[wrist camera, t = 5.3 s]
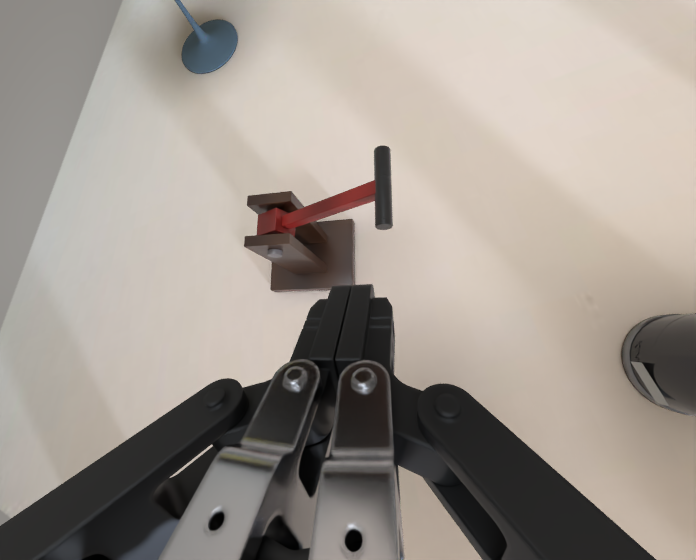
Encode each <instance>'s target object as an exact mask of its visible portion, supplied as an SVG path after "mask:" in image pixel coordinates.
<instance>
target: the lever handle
mask: <svg viewBox="0 0 696 560" xmlns="http://www.w3.org/2000/svg"><path fill="white" fill-rule="evenodd" d="M374 177H375V180H374V181H371V182H369V183H366V184H363V185H361V186H358V187H356V188H353V189H350V190H348V191H345V192H343V193H340V194H337V195H335V196H332V197H330V198H327V199H324V200H322V201H319V202H317V203H314V204H312V205H309V206H306V207H304V208H301V209H299V210H296V211H293V212H291V213H288V212H286V211H283V210H281V209H279V208H274V209H272V210H269V211H267V212H264V213H262V214H260V215H258V225H257V235H270V234H283V233H290V234H291V235H293V236H294V237H295V227H298V226H301V225H304V224H307V223H310V222H313V221H316V220H319V219H322V218H325V217H328V216H331V215H334V214H337V213H340V212H343V211H346V210H349V209H352V208H355V207H358V206H361V205H364V204H367V203H370V202H373V201H375V227H376V228H377V229H380V230H387V229H390V228H392V226H393V220H392V188H391V155H390V148H389V147H387V146H378V147H377V148H375V150H374Z"/></svg>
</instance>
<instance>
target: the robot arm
mask: <svg viewBox="0 0 696 560" xmlns="http://www.w3.org/2000/svg"><path fill="white" fill-rule="evenodd" d="M394 349H395V333H394V322H393V310H392V305H391V304H390V302H389V301H388V299H387V297H386V298H375V296H374V288H373V285H372V284H367V285H353V286H352V285H340V286H332V287H331V290H330V293H329V296H328V299H319V300H318V301H317V302H316V303H315V304H314V305H313V306H312V307H311V308H310V311H309V313H308V316H307V321H305V324H304V326H303V329H302V331H301V334H300V336H299V339H298V342H297V344H296V347H295V349H294V352H293V354H292V357H291V359H290V362H288V363H287V364H285V365H283V366H282V367H281V368H280V369H279V370H278V371H277V372H276V373H275V375H274V376H273V378H272V379H271V380H268V381H266V382H263V383H259V384H255V385H251V386H247V387H244V388H242V386H241V385H240V383H239V382H238V381H236V380H234V379H229V378H227V379H221V380H218V381H215V382H213V383H211V384H209V385H208V386H206V387H205V388H203V389H202V390H200V391H199V392H197V393H196V394H194V395H193V396H191V397H190V398H188V399H187V400H186V401H184V402H183V403H181V404H180V405H178V406H177V407H175V408H174V409H172V410H171V411H169V412H168V413H166V414H165V415H163V416H162V417H160V418H159V419H157V420H156V421H155V422H153V423H152V424H150V425H149V426H147V427H146V428H144V429H143V430H141V431H140V432H138V433H137V434H135V435H134V436H132V437H131V438H129V439H128V440H126V441H125V442H124V443H122V444H121V445H119V446H118V447H116V448H115V449H113V450H112V451H110V452H109V453H107V454H106V455H104V456H103V457H101V458H100V459H98V460H97V461H95V462H94V463H92V464H91V465H90V466H88V467H87V468H85V469H84V470H82V471H81V472H79V473H78V474H76V475H75V476H73V477H72V478H70V479H69V480H67V481H66V482H64V483H63V484H61V485H60V486H59V487H57V488H56V489H54V490H53V491H51V492H50V493H48V494H47V495H45V496H44V497H42V498H41V499H39V500H38V501H36V502H35V503H33V504H32V505H30V506H29V507H28V508H26V509H25V510H23V511H22V512H20V513H19V514H17V515H16V516H14V517H13V518H11V519H10V520H8V521H7V522H5V523H4V524H2V525H1V526H0V560H405V554H404V540H403V526H402V515H401V501H400V486H399V470H398V465H399V466H401V467H403V468H405V469H407V470H409V471H411V472H414V473H416V474H418V475H420V476H422V477H423V478H424V480H425V481H426V483H427V484H428V486H429V487H430V488H431V490H432V491H433V492H434V494H435V495H436V496H437V498H438V499H439V501H440V502H441V503H442V505H443V506H444V507H445V509H446V510H447V511H448V513H449V514H450V516H451V517H452V518H453V520H454V521H455V522H456V524H457V525H458V526H459V528H460V529H461V531H462V532H463V533H464V535H465V536H466V537H467V539H468V540H469V542H470V543H471V544H472V546H473V547H474V548H475V550H476V551H477V552H478V554H479V555H480V557H481V558H482V559H483V560H656V559H655V558H654V557H653V556H651V555H650V554H649V553H648V552H647V551H646V550H645V549H644V548H642V547H641V546H640V545H639V544H638V543H637V542H636V541H635V540H633V539H632V538H631V537H630V536H629V535H628V534H627V533H625V532H624V531H623V530H622V529H621V528H620V527H619V526H618V525H616V524H615V523H614V522H613V521H612V520H611V519H610V518H609V517H607V516H606V515H605V514H604V513H603V512H602V511H601V510H600V509H598V508H597V507H596V506H595V505H594V504H593V503H592V502H590V501H589V500H588V499H587V498H586V497H585V496H584V495H583V494H581V493H580V492H579V491H578V490H577V489H576V488H575V487H574V486H572V485H571V484H570V483H569V482H568V481H567V480H566V479H565V478H563V477H562V476H561V475H560V474H559V473H558V472H557V471H555V470H554V469H553V468H552V467H551V466H550V465H549V464H548V463H546V462H545V461H544V460H543V459H542V458H541V457H540V456H539V455H537V454H536V453H535V452H534V451H533V450H532V449H531V448H530V447H528V446H527V445H526V444H525V443H524V442H523V441H522V440H521V439H519V438H518V437H517V436H516V435H515V434H514V433H513V432H511V431H510V430H509V429H508V428H507V427H506V426H505V425H504V424H502V423H501V422H500V421H499V420H498V419H497V418H496V417H495V416H493V415H492V414H491V413H490V412H489V411H488V410H487V409H486V408H484V407H483V406H482V405H481V404H480V403H479V402H478V401H476V400H475V399H474V398H473V397H472V396H471V395H470V394H469V393H467V392H466V391H465V390H463V389H461V388H459V387H457V386H454V385H451V384H435V385H432V386H430V387H428V388H426V389H425V390H424V391H421V390H418V389H415V388H412V387H410V386H407V385H405V384H403V383H402V382H401V381H399V380H398V379H397V378H396V377H395V375H394V353H395V350H394ZM622 359H623V365H624V368H625V371H626V373H627V376H628V377H629V379H630V381H631V382H632V384H633V385H634V386H635V388H636V389H637V390H638V391H639V392H640V393H641V394H642V395H644V396H645V397H646V398H647V399H649V400H650V401H652V402H653V403H655V404H657V405H659V406H661V407H663V408H665V409H668V410H671V411H674V412H678V413H682V414H686V415H692V416H696V313H693V314H670V315H660V316H655V317H652V318H649V319H646V320H644V321H642V322H640V323H639V324H638V325H636V326H635V327H634V328H633V329H632V330H631V331H630V332H629V334H628V335H627V337H626V339H625V342H624V345H623V350H622ZM211 444H212V445H213V447H211V448H210V449H209V450H208V451H206V452H205V453H204V454H203V455H201V456H200V457H199V458H198V459H196V460H195V461H194V462H193V463H191V464H190V465H189V466H188V467H186V468H185V469H184V470H182V471H181V472H180V473H179V474H177V475H176V476H174V477H171V478H169V477H170V476H172V475H173V474H174V473H176V472H177V471H178V470H179V469H181V468H182V467H183V466H184V465H186V464H187V463H188V462H189V461H191V460H192V459H193V458H195V457H196V456H197V455H198V454H200V453H201V452H202V451H203V450H205V449H206V448H207V447H208V446H210V445H211Z"/></svg>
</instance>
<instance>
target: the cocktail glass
mask: <svg viewBox="0 0 696 560" xmlns="http://www.w3.org/2000/svg"><path fill="white" fill-rule="evenodd" d="M175 2H176V3H177V5H178V6H179V8H180V9H181V10H182V12H183V13H184V15H185V16H186V18H187V19H188V21H189V23H190V24H191V26H192V28H193V29H194V31H193V32H192V33H191V34H190V35H189V36H188V38H187V39H186V41H185V43H184V45H183V49H182V61H183V63H184V65H185V67H186V68H187V69H188V70H190V71H192V72H194V73H208V72H212V71H214V70H216V69H218V68H220V67H221V66H222V65H224V64H225V63H226V62H227V61H228V60H229V59H230V57H231V56H232V54H233V53H234V51H235V48H236V45H237V32H236V30H235V28H234V26H233V25H232V24H231V23H229V22H227V21H225V20H212V21H208V22H206V23H204V24H202V25H200V26H199V25H198V24H197V23H196V22H195V20H194V19H193V18H192V16H191V15H190V14H189V12H188V11H187V9H186V8H185V7H184V5H183V4H182V2H181V1H180V0H175Z"/></svg>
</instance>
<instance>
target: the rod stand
mask: <svg viewBox="0 0 696 560" xmlns="http://www.w3.org/2000/svg"><path fill="white" fill-rule="evenodd" d="M247 206H248V207H250V208H251V209H252V210H253V211H255V212H256V213H257V214H258V215H260V214H262V213H264V212H267V211H269V210H272V209H274V208H279V209H281V210H283V211H286V212H288V213H291V212H293V211H296V210H299V209H301V208H304V206H303V205H302V204H301V202H300V201H299V200H298V199H297V198H296V196H295V195H294V194H293V193H292V191H289V192H280V193H270V194H261V195H252V196H248V200H247ZM244 247H246V248H248V249H250V250H252V251H253V252H255V253H257V254H259V255H261V256H263V257H264V258H266V259H268V260H270V261H272V273H271V290H272V291H275V292H278V291H307V290H331V287H332V286H340V285H352V286H353V285H354V221H353V219H346V220H335V221H323V222H316V221H313V222H310V223H307V224H304V225H301V226H298V227H295V237H294V236H293V235H291V234H290V233H283V234H270V235H257V236H245V242H244Z"/></svg>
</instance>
